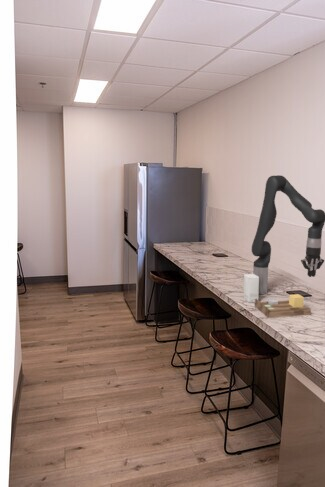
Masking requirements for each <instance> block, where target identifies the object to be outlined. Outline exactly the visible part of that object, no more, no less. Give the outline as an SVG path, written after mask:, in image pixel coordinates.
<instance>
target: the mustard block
mask: <svg viewBox="0 0 325 487" xmlns="http://www.w3.org/2000/svg"><path fill="white" fill-rule="evenodd" d="M288 298H289V299H288V300H289V304H290V305H291V306H293V307H303V306H304V301H305V300H304V299H305V298H304V296H302V295H301V294H289V297H288Z"/></svg>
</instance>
